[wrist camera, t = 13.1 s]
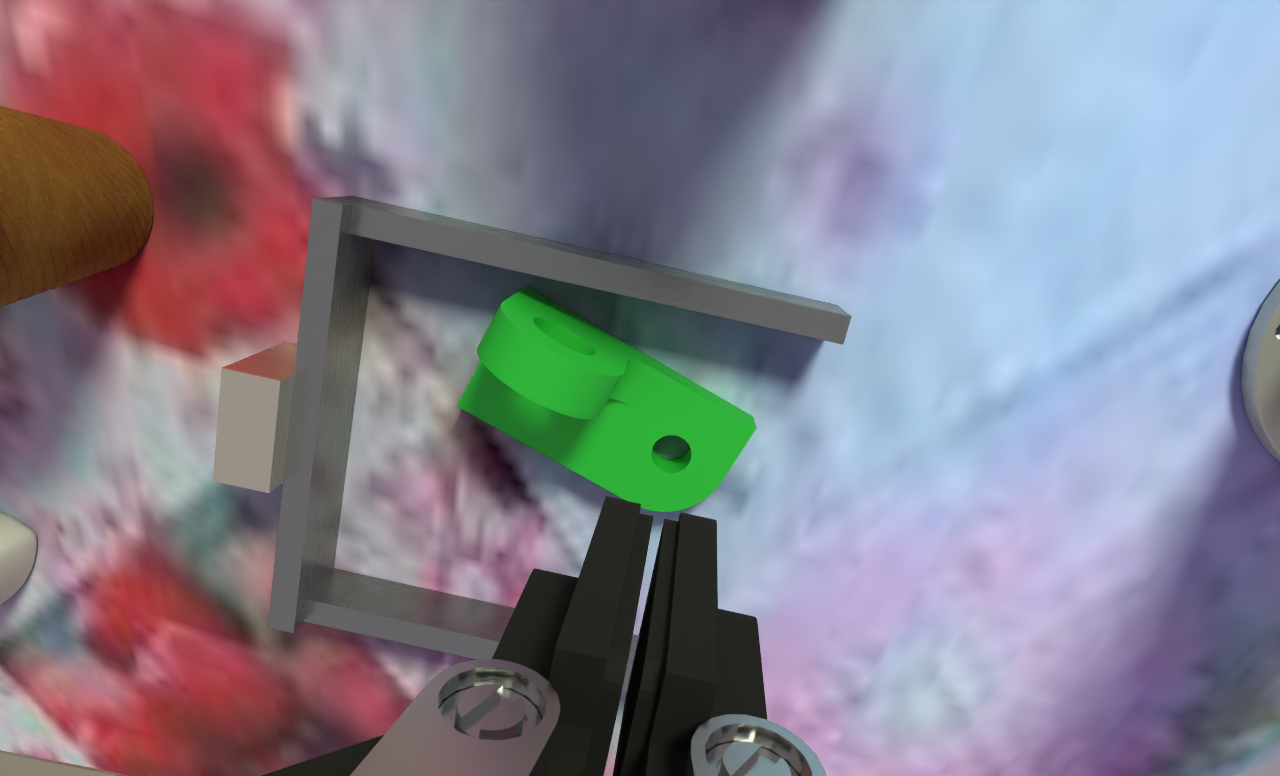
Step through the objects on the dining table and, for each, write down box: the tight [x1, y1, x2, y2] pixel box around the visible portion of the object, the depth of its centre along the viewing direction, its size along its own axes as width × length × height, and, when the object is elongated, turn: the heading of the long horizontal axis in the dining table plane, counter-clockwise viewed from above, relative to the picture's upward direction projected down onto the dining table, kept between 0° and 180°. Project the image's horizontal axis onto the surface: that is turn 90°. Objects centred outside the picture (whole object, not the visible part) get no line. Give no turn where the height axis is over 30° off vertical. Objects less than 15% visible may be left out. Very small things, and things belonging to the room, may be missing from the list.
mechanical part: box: [457, 286, 756, 512], centre depth 33 cm, size 12×6×8 cm, turn 60°
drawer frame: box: [213, 196, 851, 692], centre depth 35 cm, size 24×20×5 cm
